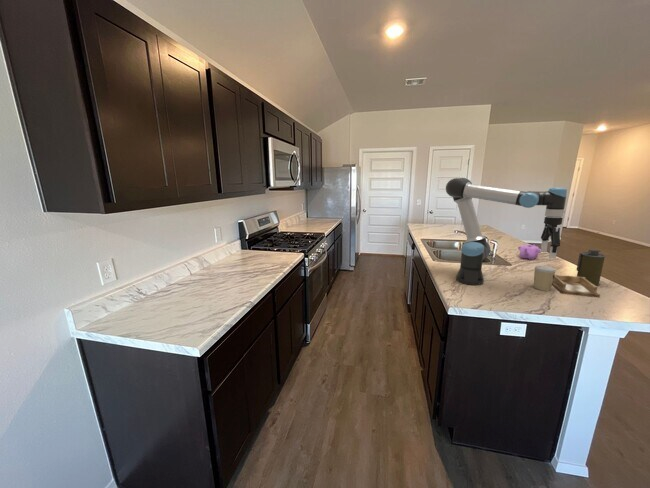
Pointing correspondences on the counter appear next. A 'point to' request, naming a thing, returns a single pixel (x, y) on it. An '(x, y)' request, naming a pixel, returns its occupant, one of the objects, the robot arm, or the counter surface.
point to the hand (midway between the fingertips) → (547, 255)
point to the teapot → (529, 251)
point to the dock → (574, 286)
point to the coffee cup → (543, 277)
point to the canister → (590, 266)
